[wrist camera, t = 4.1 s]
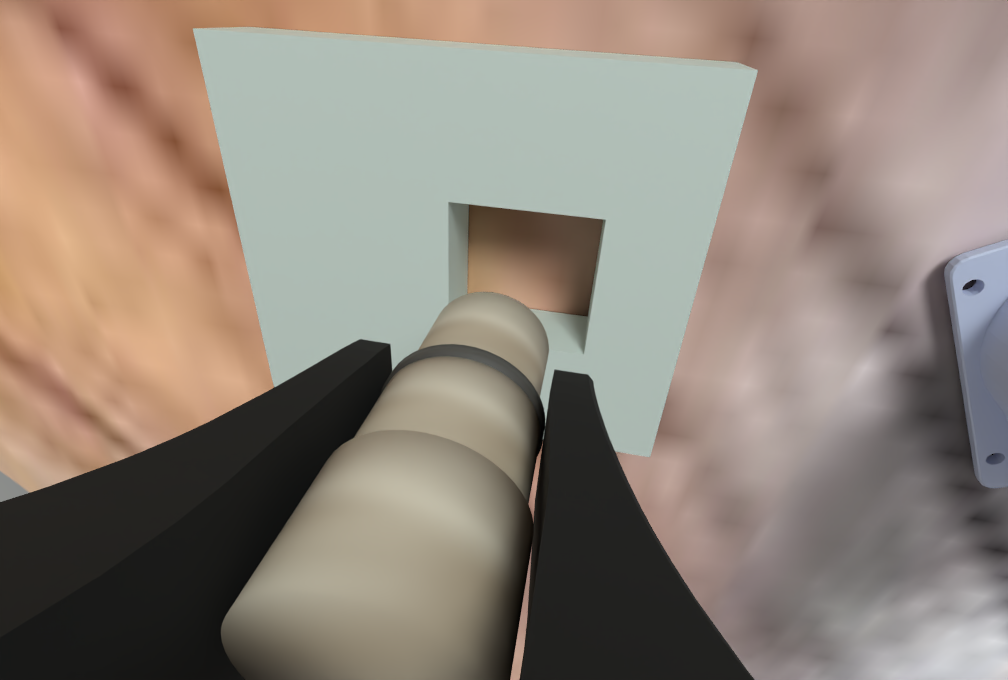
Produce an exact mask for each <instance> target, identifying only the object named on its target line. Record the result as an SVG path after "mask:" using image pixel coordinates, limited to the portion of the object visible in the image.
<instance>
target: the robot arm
mask: <svg viewBox="0 0 1008 680" xmlns="http://www.w3.org/2000/svg"><path fill="white" fill-rule="evenodd" d="M944 277H945V283H946V290H947V296H948V303H949V309H950V316H951V322H952V329H953V335H954V342H955V348H956V355H957V361H958V368H959V374H960V381H961V387H962V394H963V400H964V407H965V414H966V420H967V427H968V433H969V440H970V446H971V453H972V459H973V466H974V472H975V476H976V478H977V479H978V481H979V482H980V483H981V484H982V485H983V486H985V487H988V488H1002V487H1008V239H1007V240H1004V241H1001V242H997V243H994V244H991V245H988V246H985V247H981V248H978V249H975V250H972V251H969V252H965V253H962V254H960V255H958V256H956V257H954V258H953V259H952V260H951V261H950V262H948V264H947V266H946V267H945V272H944ZM971 280H976V283H975V284H974V285H973V286H972V287H971V288H969V289H967V290H962V289H963V286H964V285H965V284H966V283H967V282H969V281H971ZM391 372H392V359H391V344H388V343H382V342H375V341H369V340H363V339H359V340H357V341H355V342H353V343H351V344H349V345H348V346H346V347H344V348H342V349H340V350H339V351H337V352H335V353H333V354H332V355H330V356H328V357H326V358H325V359H323V360H321V361H320V362H318V363H316V364H315V365H313V366H311V367H309V368H308V369H306V370H304V371H302V372H301V373H299V374H297V375H295V376H294V377H292V378H290V379H288V380H287V381H285V382H283V383H281V384H280V385H278V386H276V387H274V388H273V389H271V390H269V391H267V392H266V393H264V394H262V395H260V396H258V397H256V398H254V399H252V400H250V401H248V402H246V403H244V404H243V405H241V406H239V407H237V408H235V409H233V410H231V411H229V412H227V413H225V414H223V415H221V416H219V417H218V418H216V419H214V420H212V421H210V422H208V423H206V424H203V425H201V426H199V427H197V428H195V429H193V430H191V431H189V432H186V433H184V434H182V435H180V436H178V437H175V438H173V439H171V440H168V441H166V442H164V443H161V444H159V445H157V446H154V447H152V448H150V449H147V450H145V451H143V452H140V453H138V454H135V455H133V456H130V457H128V458H125V459H123V460H120V461H117V462H115V463H112V464H109V465H106V466H104V467H101V468H98V469H96V470H93V471H90V472H87V473H85V474H82V475H79V476H76V477H74V478H71V479H68V480H66V481H63V482H60V483H57V484H55V485H52V486H49V487H46V488H43V489H40V490H37V491H34V492H31V493H28V494H25V495H22V496H19V497H15V498H12V499H9V500H6V501H3V502H0V680H245V679H244V677H243V676H242V675H241V674H240V673H239V672H238V671H237V669H236V668H235V667H234V665H233V664H232V663H231V661H230V659H229V658H228V656H227V654H226V652H225V650H224V647H223V644H222V639H221V627H222V623H223V620H224V618H225V616H226V614H227V613H228V611H229V610H230V608H231V607H232V605H233V604H234V602H235V601H236V599H237V597H238V596H239V594H240V593H241V591H242V590H243V588H244V587H245V585H246V584H247V582H248V581H249V579H250V578H251V576H252V575H253V573H254V571H255V570H256V568H257V567H258V565H259V564H260V562H261V561H262V559H263V558H264V556H265V555H266V553H267V552H268V550H269V548H270V547H271V545H272V544H273V542H274V541H275V539H276V538H277V536H278V535H279V533H280V532H281V530H282V529H283V527H284V526H285V524H286V522H287V521H288V519H289V518H290V516H291V515H292V513H293V512H294V510H295V509H296V507H297V506H298V504H299V503H300V501H301V500H302V498H303V496H304V495H305V493H306V492H307V490H308V489H309V487H310V486H311V484H312V483H313V481H314V480H315V478H316V477H317V475H318V474H319V472H320V470H321V469H322V467H323V466H324V464H325V463H326V461H327V460H328V458H329V457H330V456H331V455H332V453H333V452H334V451H335V450H336V449H338V448H339V447H340V446H341V445H342V444H344V443H346V442H347V441H349V440H351V439H353V438H354V437H355V435H356V434H357V432H358V430H359V429H360V427H361V426H362V424H363V422H364V421H365V419H366V418H367V416H368V414H369V413H370V411H371V410H372V408H373V406H374V405H375V403H376V402H377V400H378V398H379V397H380V394H381V391H382V388H383V386H384V384H385V382H386V380H387V379H388V377H389V375H390V374H391ZM994 453H995V454H994ZM991 454H994V455H991ZM989 455H991V456H989ZM520 680H754V678H753V677H752V676H751V675H750V673H749V672H748V671H747V670H746V668H745V667H744V665H743V664H742V663H741V661H740V660H739V658H738V657H737V656H736V654H735V653H734V651H733V650H732V649H731V647H730V646H729V645H728V643H727V642H726V640H725V639H724V638H723V636H722V635H721V633H720V632H719V631H718V629H717V628H716V627H715V625H714V624H713V622H712V621H711V620H710V618H709V617H708V615H707V614H706V613H705V611H704V610H703V608H702V607H701V606H700V604H699V603H698V602H697V600H696V599H695V597H694V596H693V594H692V593H691V591H690V589H689V588H688V586H687V585H686V583H685V582H684V580H683V579H682V577H681V575H680V574H679V572H678V571H677V569H676V568H675V566H674V565H673V563H672V561H671V560H670V558H669V556H668V555H667V553H666V551H665V550H664V548H663V546H662V545H661V543H660V541H659V540H658V538H657V536H656V534H655V533H654V531H653V529H652V527H651V525H650V524H649V522H648V520H647V518H646V516H645V514H644V512H643V511H642V509H641V507H640V505H639V503H638V501H637V499H636V497H635V495H634V493H633V491H632V489H631V487H630V485H629V483H628V480H627V478H626V476H625V474H624V472H623V469H622V467H621V465H620V462H619V460H618V458H617V455H616V453H615V450H614V448H613V445H612V443H611V441H610V438H609V435H608V433H607V430H606V427H605V424H604V421H603V418H602V415H601V412H600V409H599V406H598V402H597V398H596V394H595V389H594V383H593V380H592V379H591V377H590V376H589V375H587V374H581V373H575V372H568V371H562V370H555V369H554V374H553V379H552V384H551V389H550V395H549V402H548V410H547V417H546V424H545V432H544V439H543V446H542V454H541V461H540V468H539V476H538V483H537V491H536V498H535V510H534V532H533V540H532V555H531V571H530V586H529V602H528V617H527V628H526V637H525V647H524V654H523V661H522V667H521V674H520Z"/></svg>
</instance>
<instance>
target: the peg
mask: <svg viewBox="0 0 1008 680" xmlns="http://www.w3.org/2000/svg"><path fill="white" fill-rule="evenodd" d="M548 354H549V343H548V337H547V334H546V331H545V329H544V327H543V325H542V323H541V322H540V320H539V319H538V318H537V316H536V315H535V314H534V313H533V312H532V311H531V310H530V309H529V308H528V307H526V306H525V305H524V304H522V303H521V302H519V301H517V300H516V299H513V298H511V297H509V296H506V295H502V294H499V293H493V292H475V293H469V294H466V295H463V296H460V297H458V298H456V299H455V300H453V301H452V302H450V303H449V304H448V305H447V306H446V307H445V308H444V309H443V310H442V311H441V313H440V314H439V316H438V317H437V319H436V321H435V322H434V324H433V326H432V327H431V329H430V331H429V333H428V334H427V336H426V338H425V339H424V341H423V343H422V344H421V346H420V348H419V349H418V351H415V352H413V353H411V354H410V355H408V356H407V357H405V358H404V359H403V360H402V361H401V362H399V363H398V364H397V366H396V367H395V368H394V369H393V371H392V372H391V374H390V375H389V377H388V379H387V380H386V382H385V384H384V386H383V388H382V391H381V394H380V397H379V398H378V400H377V402H376V403H375V405H374V406H373V408H372V410H371V411H370V413H369V414H368V416H367V418H366V419H365V421H364V422H363V424H362V426H361V427H360V429H359V430H358V432H357V434H356V435H355V437H354V438H353V439H351V440H349V441H347V442H346V443H344V444H342V445H341V446H340V447H339V448H338V449H336V450H335V451H334V452H333V453H332V455H331V456H330V457H329V458H328V460H327V461H326V463H325V464H324V466H323V467H322V469H321V470H320V472H319V474H318V475H317V477H316V478H315V480H314V481H313V483H312V484H311V486H310V487H309V489H308V490H307V492H306V493H305V495H304V496H303V498H302V500H301V501H300V503H299V504H298V506H297V507H296V509H295V510H294V512H293V513H292V515H291V516H290V518H289V519H288V521H287V522H286V524H285V526H284V527H283V529H282V530H281V532H280V533H279V535H278V536H277V538H276V539H275V541H274V542H273V544H272V545H271V547H270V548H269V550H268V552H267V553H266V555H265V556H264V558H263V559H262V561H261V562H260V564H259V565H258V567H257V568H256V570H255V571H254V573H253V575H252V576H251V578H250V579H249V581H248V582H247V584H246V585H245V587H244V588H243V590H242V591H241V593H240V594H239V596H238V597H237V599H236V601H235V602H234V604H233V605H232V607H231V608H230V610H229V611H228V613H227V614H226V616H225V618H224V620H223V623H222V627H221V639H222V644H223V647H224V650H225V652H226V654H227V656H228V658H229V659H230V661H231V663H232V664H233V665H234V667H235V668H236V669H237V671H238V672H239V673H240V674H241V675H242V676H243V677H244V679H245V680H510V676H511V670H512V664H513V658H514V652H515V645H516V639H517V633H518V627H519V621H520V615H521V608H522V602H523V596H524V590H525V584H526V578H527V571H528V565H529V559H530V553H531V547H532V540H533V532H534V524H533V518H532V514H531V511H530V508H529V505H528V503H529V497H530V492H531V486H532V481H533V475H534V470H535V464H536V459H537V456H538V454H539V451H540V449H541V446H542V442H543V436H544V431H545V412H544V407H543V404H542V401H541V399H540V394H541V389H542V384H543V379H544V375H545V370H546V365H547V360H548Z"/></svg>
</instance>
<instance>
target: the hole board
mask: <svg viewBox="0 0 1008 680" xmlns="http://www.w3.org/2000/svg"><path fill="white" fill-rule="evenodd" d="M193 31H194V36H195V40H196V45H197V49H198V53H199V58H200V62H201V67H202V71H203V75H204V80H205V84H206V89H207V93H208V97H209V102H210V106H211V111H212V115H213V120H214V124H215V128H216V133H217V137H218V142H219V146H220V150H221V155H222V159H223V164H224V168H225V173H226V177H227V181H228V186H229V190H230V195H231V199H232V203H233V208H234V212H235V217H236V221H237V225H238V230H239V234H240V239H241V243H242V248H243V252H244V256H245V261H246V265H247V270H248V274H249V278H250V283H251V287H252V292H253V296H254V301H255V305H256V309H257V314H258V318H259V323H260V327H261V331H262V336H263V340H264V345H265V349H266V354H267V358H268V362H269V367H270V371H271V376H272V380H273V384H274V387H276V386H278V385H280V384H281V383H283V382H285V381H287V380H288V379H290V378H292V377H294V376H295V375H297V374H299V373H301V372H302V371H304V370H306V369H308V368H309V367H311V366H313V365H315V364H316V363H318V362H320V361H321V360H323V359H325V358H326V357H328V356H330V355H332V354H333V353H335V352H337V351H339V350H340V349H342V348H344V347H346V346H348V345H349V344H351V343H353V342H355V341H357V340H359V339H363V340H369V341H375V342H382V343H388V344H391V359H392V371H393V369H394V368H395V367H396V366H397V364H398V363H399V362H401V361H402V360H403V359H404V358H405V357H407V356H408V355H410V354H411V353H413V352H415V351H418V349H419V348H420V346H421V344H422V343H423V341H424V339H425V338H426V336H427V334H428V333H429V331H430V329H431V327H432V326H433V324H434V322H435V321H436V319H437V317H438V316H439V314H440V313H441V311H442V310H443V309H444V308H445V307H446V306H447V305H448V304H449V303H450V302H452V301H453V300H455V299H456V298H458V297H460V296H463V295H466V294H467V281H468V226H469V204H471V205H480V206H488V207H497V208H506V209H515V210H524V211H533V212H542V213H551V214H560V215H569V216H578V217H586V218H595V219H603V225H602V231H601V237H600V243H599V250H598V256H597V262H596V268H595V275H594V281H593V287H592V293H591V300H590V306H589V312H588V317H587V316H579V315H572V314H565V313H557V312H550V311H543V310H535V309H530V310H531V311H532V312H533V313H534V314H535V315H536V316H537V318H538V319H539V320H540V322H541V323H542V325H543V327H544V329H545V331H546V334H547V337H548V343H549V354H548V360H547V365H546V370H545V375H544V379H543V384H542V389H541V394H540V399H541V401H542V404H543V407H544V412H545V424H546V417H547V410H548V402H549V395H550V389H551V384H552V379H553V374H554V369H555V370H562V371H568V372H575V373H581V374H587V375H589V376H590V377H591V379H592V380H593V383H594V389H595V394H596V398H597V402H598V406H599V409H600V412H601V415H602V418H603V421H604V424H605V427H606V430H607V433H608V435H609V438H610V441H611V443H612V445H613V448H614V450H615V451H616V452H622V453H628V454H634V455H640V456H646V457H650V455H651V452H652V448H653V444H654V441H655V437H656V434H657V430H658V427H659V423H660V419H661V416H662V412H663V409H664V405H665V402H666V398H667V394H668V391H669V387H670V384H671V380H672V376H673V373H674V369H675V366H676V362H677V359H678V355H679V351H680V348H681V344H682V341H683V337H684V333H685V330H686V326H687V323H688V319H689V316H690V312H691V308H692V305H693V301H694V298H695V294H696V290H697V287H698V283H699V280H700V276H701V273H702V269H703V265H704V262H705V258H706V255H707V251H708V248H709V244H710V240H711V237H712V233H713V230H714V226H715V222H716V219H717V215H718V212H719V208H720V205H721V201H722V197H723V194H724V190H725V187H726V183H727V179H728V176H729V172H730V169H731V165H732V162H733V158H734V154H735V151H736V147H737V144H738V140H739V136H740V133H741V129H742V126H743V122H744V119H745V115H746V111H747V108H748V104H749V101H750V97H751V94H752V90H753V86H754V83H755V79H756V76H757V72H758V70H756V69H753V68H750V67H748V66H745V65H743V64H740V63H738V62H727V61H713V60H699V59H686V58H672V57H658V56H644V55H630V54H617V53H603V52H589V51H575V50H562V49H548V48H534V47H520V46H506V45H493V44H479V43H465V42H451V41H437V40H424V39H410V38H396V37H382V36H369V35H355V34H341V33H327V32H313V31H300V30H286V29H272V28H258V27H228V28H194V29H193ZM544 432H545V431H544ZM543 439H544V436H543Z"/></svg>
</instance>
